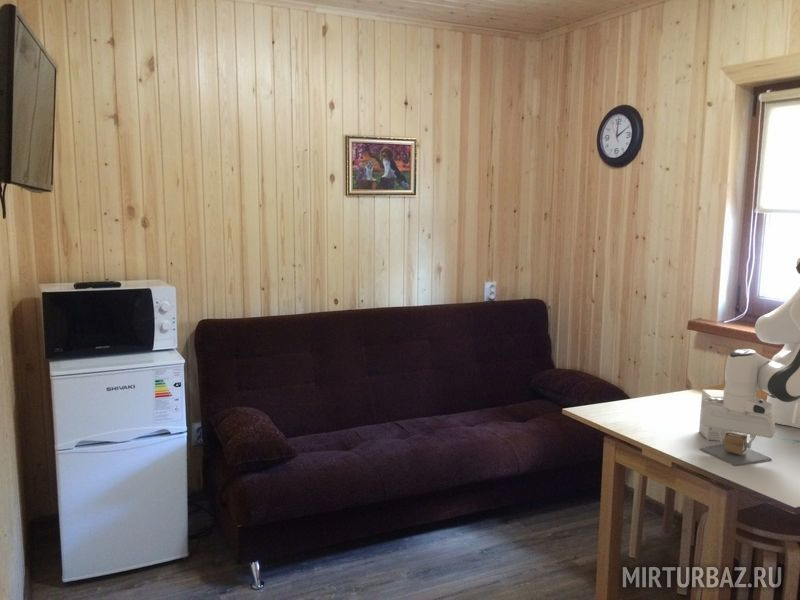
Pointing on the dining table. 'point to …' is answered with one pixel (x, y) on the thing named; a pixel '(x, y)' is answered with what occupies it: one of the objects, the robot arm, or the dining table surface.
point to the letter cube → (735, 442)
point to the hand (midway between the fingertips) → (735, 445)
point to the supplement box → (705, 431)
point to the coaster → (735, 455)
